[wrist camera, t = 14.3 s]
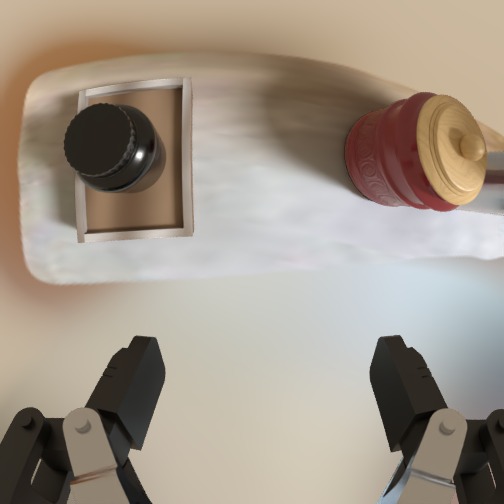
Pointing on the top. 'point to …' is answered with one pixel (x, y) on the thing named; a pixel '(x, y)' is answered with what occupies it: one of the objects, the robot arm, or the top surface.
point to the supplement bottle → (115, 148)
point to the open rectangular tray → (168, 185)
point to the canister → (418, 154)
